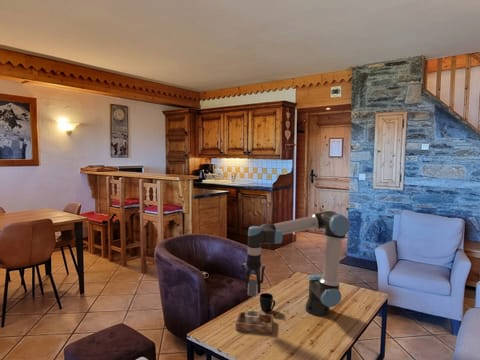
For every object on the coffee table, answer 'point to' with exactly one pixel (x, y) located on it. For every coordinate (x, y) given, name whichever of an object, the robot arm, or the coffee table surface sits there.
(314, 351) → the coffee table surface
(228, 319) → the coffee table surface
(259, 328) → the box
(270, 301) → the mug
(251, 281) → the connector
